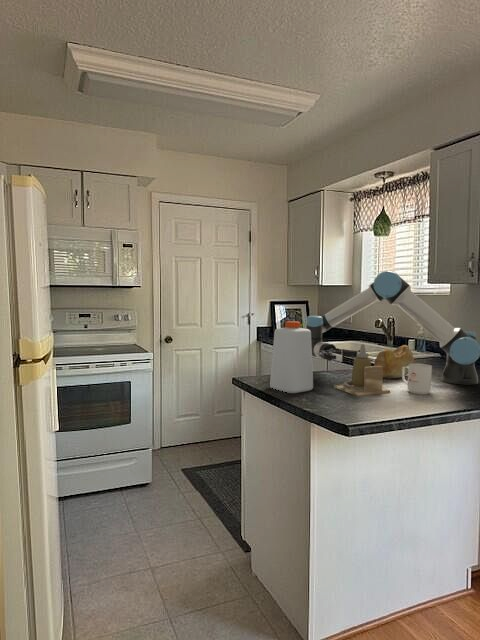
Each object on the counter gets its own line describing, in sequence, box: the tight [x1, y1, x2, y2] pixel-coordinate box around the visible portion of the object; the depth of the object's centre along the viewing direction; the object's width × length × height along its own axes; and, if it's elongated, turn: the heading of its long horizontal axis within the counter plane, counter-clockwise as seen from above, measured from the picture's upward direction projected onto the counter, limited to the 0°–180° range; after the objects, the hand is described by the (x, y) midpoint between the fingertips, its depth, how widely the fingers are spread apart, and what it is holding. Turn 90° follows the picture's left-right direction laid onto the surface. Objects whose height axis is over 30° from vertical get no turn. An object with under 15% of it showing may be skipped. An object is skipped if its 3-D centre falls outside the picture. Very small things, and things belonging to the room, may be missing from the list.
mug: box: [401, 363, 433, 395], centre depth 184 cm, size 12×9×11 cm
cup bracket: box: [333, 365, 391, 397], centre depth 185 cm, size 16×16×11 cm
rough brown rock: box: [373, 344, 415, 380], centre depth 218 cm, size 23×17×15 cm
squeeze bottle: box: [351, 343, 372, 387], centre depth 185 cm, size 8×8×18 cm
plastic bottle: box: [269, 320, 314, 394], centre depth 184 cm, size 15×15×28 cm
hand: (354, 357), depth 188 cm, fingers open, 13 cm apart
